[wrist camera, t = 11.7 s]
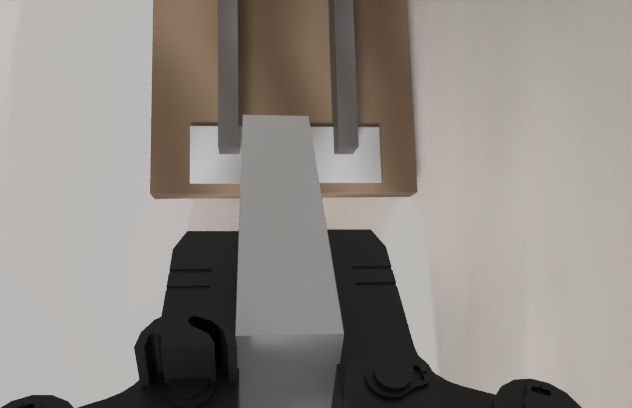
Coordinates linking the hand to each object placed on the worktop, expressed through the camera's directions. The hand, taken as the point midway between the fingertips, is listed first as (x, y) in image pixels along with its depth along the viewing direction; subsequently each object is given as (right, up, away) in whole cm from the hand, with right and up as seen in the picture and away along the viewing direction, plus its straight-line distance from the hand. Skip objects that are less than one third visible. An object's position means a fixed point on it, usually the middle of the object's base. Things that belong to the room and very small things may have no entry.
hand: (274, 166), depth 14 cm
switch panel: (-1, +12, +20) cm, 24 cm away
